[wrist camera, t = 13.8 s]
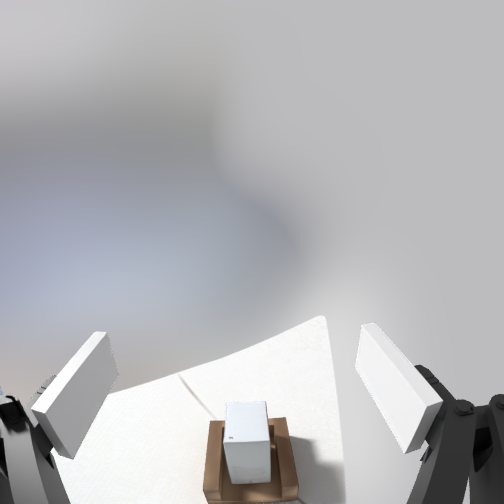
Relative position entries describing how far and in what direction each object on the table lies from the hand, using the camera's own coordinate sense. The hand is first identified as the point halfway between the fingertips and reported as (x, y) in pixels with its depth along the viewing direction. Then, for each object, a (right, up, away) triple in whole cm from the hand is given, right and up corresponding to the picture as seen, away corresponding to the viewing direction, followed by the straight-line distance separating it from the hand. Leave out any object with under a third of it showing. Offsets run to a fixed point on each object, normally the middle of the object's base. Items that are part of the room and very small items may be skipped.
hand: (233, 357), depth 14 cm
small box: (+1, -26, +21) cm, 34 cm away
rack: (+1, -27, +21) cm, 34 cm away
